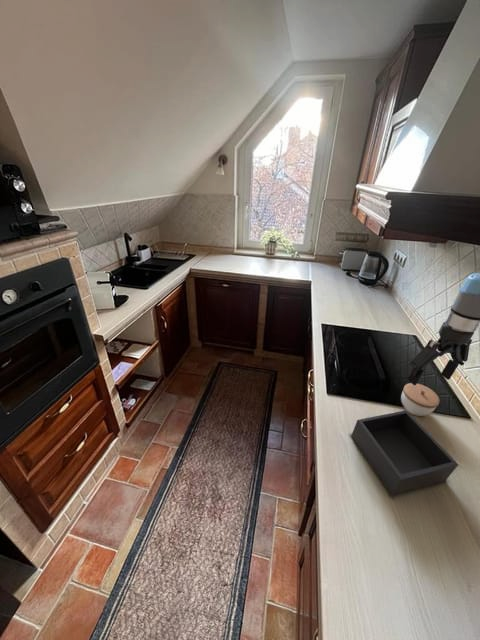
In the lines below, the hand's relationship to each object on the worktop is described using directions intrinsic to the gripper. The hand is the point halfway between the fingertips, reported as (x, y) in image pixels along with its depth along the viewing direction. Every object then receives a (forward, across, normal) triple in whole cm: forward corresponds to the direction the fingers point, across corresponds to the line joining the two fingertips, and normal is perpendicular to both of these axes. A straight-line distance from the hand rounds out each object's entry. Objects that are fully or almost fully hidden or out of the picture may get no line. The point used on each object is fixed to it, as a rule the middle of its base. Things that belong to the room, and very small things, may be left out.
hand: (428, 379), depth 85 cm
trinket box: (+15, 0, 0) cm, 15 cm away
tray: (+14, +20, +14) cm, 28 cm away
